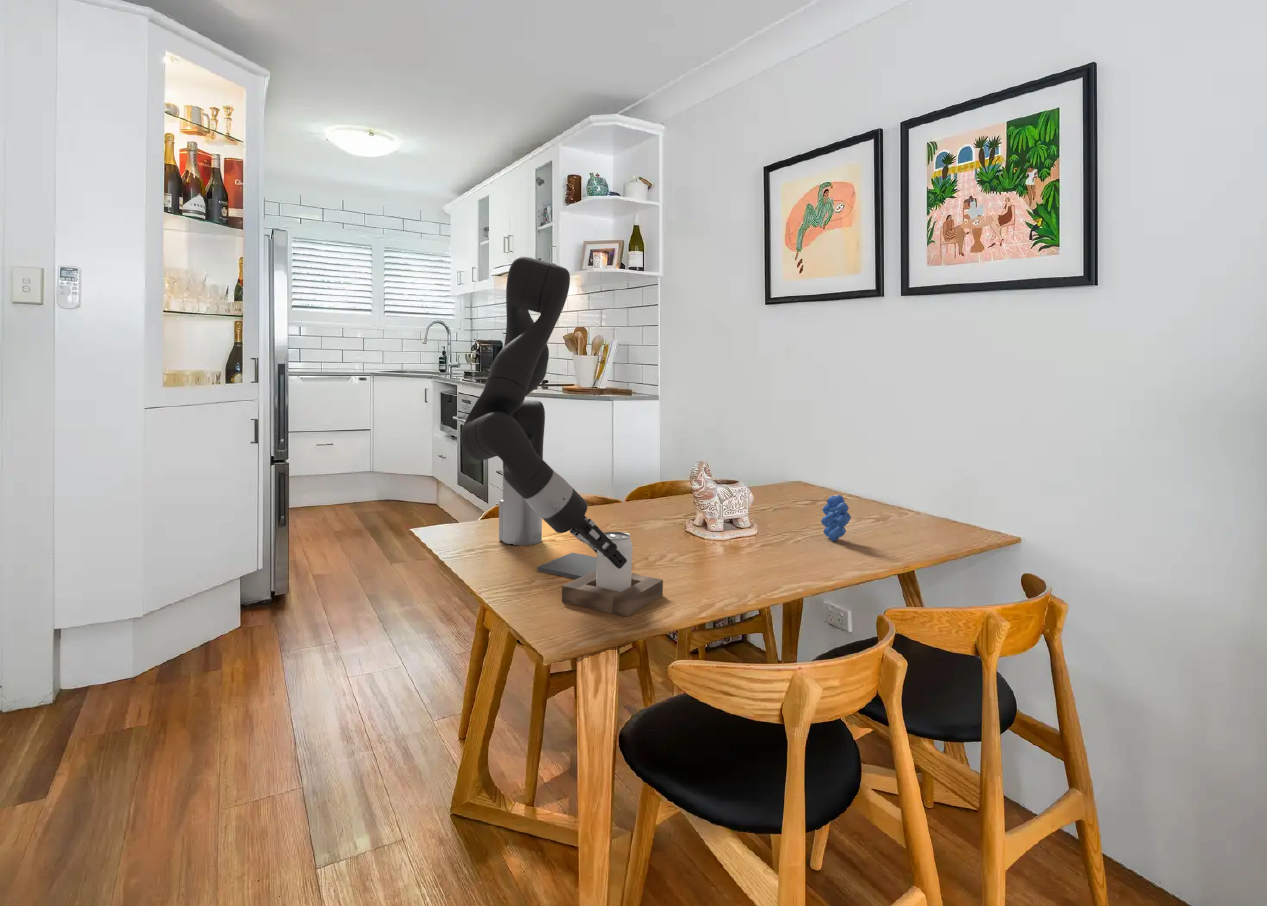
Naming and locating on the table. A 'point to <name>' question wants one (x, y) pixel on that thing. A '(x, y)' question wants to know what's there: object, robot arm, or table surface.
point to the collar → (612, 594)
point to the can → (607, 571)
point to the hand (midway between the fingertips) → (613, 558)
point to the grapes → (835, 517)
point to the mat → (570, 565)
